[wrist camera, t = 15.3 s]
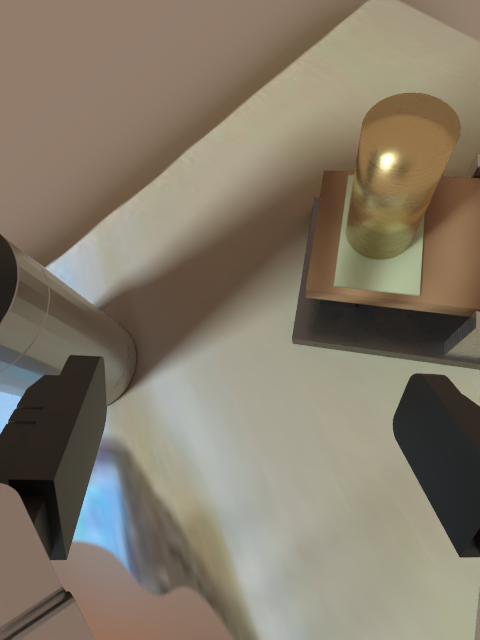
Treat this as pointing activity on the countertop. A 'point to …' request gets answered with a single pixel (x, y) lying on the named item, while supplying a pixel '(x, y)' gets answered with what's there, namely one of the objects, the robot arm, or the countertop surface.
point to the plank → (413, 264)
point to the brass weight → (398, 171)
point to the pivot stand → (386, 324)
